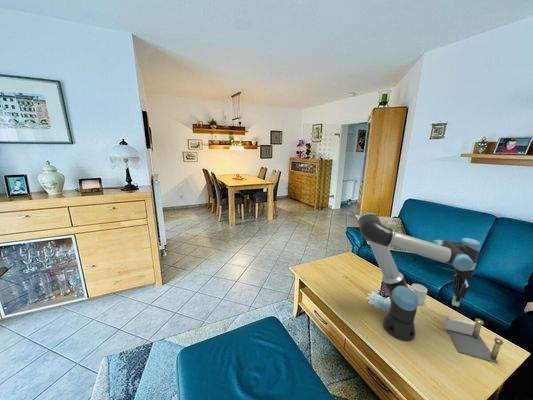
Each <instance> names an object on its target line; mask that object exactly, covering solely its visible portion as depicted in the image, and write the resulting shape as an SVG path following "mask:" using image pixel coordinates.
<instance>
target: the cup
mask: <svg viewBox="0 0 533 400" xmlns="http://www.w3.org/2000/svg"><path fill="white" fill-rule="evenodd" d="M410 289H411V291H414V292H415V293H416V295H417V296H418V306H423V305H425V302H426V298H427V294H428V288H427V287H425V286H424V285H422V284H419V283H413V284H411V288H410Z"/></svg>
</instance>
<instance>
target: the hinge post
mask: <svg viewBox="0 0 533 400" xmlns="http://www.w3.org/2000/svg"><path fill="white" fill-rule="evenodd" d="M474 322H475V323H474V324H475V327H474V331H473V334H472V337H473V338H475V339H478V336H479V335H480V332H481V329H482V326H483V325H484V323H485V322H484V320H482V319H480V318H476V317H475V319H474Z"/></svg>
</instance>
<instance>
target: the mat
mask: <svg viewBox="0 0 533 400" xmlns="http://www.w3.org/2000/svg"><path fill="white" fill-rule="evenodd" d="M445 330H446V332H447V334H448V336H449V337H450V339H451V342H452V344H453V346H454V348H455V349H456V350H457V353H458V354H462V355H466V356H470V357H474V358H477V359H481V360H484V361H488V362H492V363H494V364H498V363H499V362H498V360H497V359H496V360H493V359H492V358H490V355H491V352H492V350H490V349H489V347H488V345H487V344H486V343H485V341H484V339H482V337H481V335H480V334H479V336H478V339H475V338H473V337H472V335H468V334H464V333H460V332H456V331H452V330H448V329H445Z"/></svg>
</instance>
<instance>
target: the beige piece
mask: <svg viewBox="0 0 533 400" xmlns="http://www.w3.org/2000/svg"><path fill="white" fill-rule="evenodd" d="M474 327H475V323H474V322H470V321H466V320H462V319H458V318H454V317H450V316H449V315H446V316H445V319H444V323H443V328H444V329H445V330H446V329H448V330H452V331H456V332H460V333H464V334H468V335H472V334H473V331H474Z"/></svg>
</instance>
